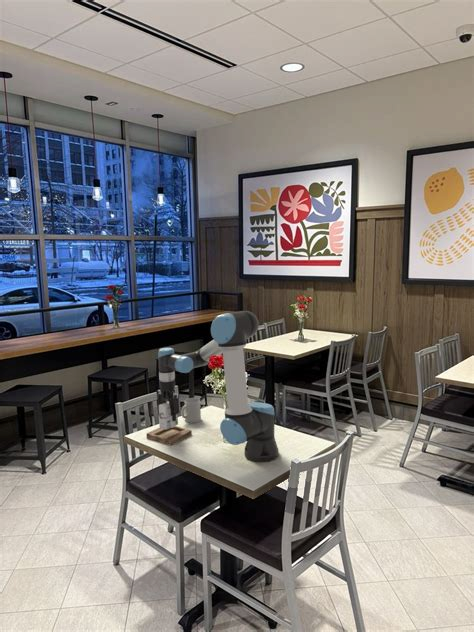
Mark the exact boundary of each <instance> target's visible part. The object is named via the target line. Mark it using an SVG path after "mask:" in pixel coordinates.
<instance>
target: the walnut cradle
mask: <svg viewBox="0 0 474 632" xmlns="http://www.w3.org/2000/svg"><path fill="white" fill-rule="evenodd" d="M192 432H193V431H192V430H191V429H188V428H185V427H181V426H178V425H176V426H175V427H173V428H169V429H167V430H165V429H162V428H160V427H158V428H156V429H153V430H151V431H149V432H147V433H146V439H149V440H153V441H157V442H159V443H162V444H166V445H169V446H172V445H175V444H176V443H177V442H180V441H183V440H184V439H186V438H188V437H190V436H192V434H193V433H192Z"/></svg>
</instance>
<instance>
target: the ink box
mask: <svg viewBox="0 0 474 632" xmlns="http://www.w3.org/2000/svg"><path fill="white" fill-rule="evenodd" d="M170 414H171V410H170V405H169V402H168V401H167V402H166V403H163V404H160V405H159V410H158V419H159V421H158V422H159V423H158V424H159V425H158V426H159V428H162V429H165V430H167V429H169V428H171V426H170ZM178 415H179V413H178V414H176V421H175V425H176V426H178V425H179V421H178V419H179V417H178Z"/></svg>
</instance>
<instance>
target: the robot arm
mask: <svg viewBox="0 0 474 632" xmlns="http://www.w3.org/2000/svg"><path fill="white" fill-rule="evenodd" d="M259 322H260V321H259V320H258V317H257V315H256V314H254V313H253V312H251V311H249V310H240V311H234V312H226V313H222V314H220V315H219V314H218V315H217V316H215V318H214V320H212V323H211V326H210V334H211V337H212V340H211V341H209V342H208V343H206V344H205V345H203V346H202V347H201V348H200V349H198V350H196V351H193V352H189V353H184V354H177V353H175V349H174V348H172V347H162V348H159V350H158V356H157V359H158V377H159V378H158V379H159V389H158V390H156V391H155V393H156V398H157V399H156V400H157V401H156V402H157V403H156V404H157V405H156V407H157V410H158V411H159V405H160V404H163V403H166V402H169V405H170V410H171V414H170V426H171V428H173V427H175V426H177V425H175V421H176V414H178V415H179V414H180V394H179V393H177V392H176V390H175V388H176V380H175V379H176V373H175V372H179V373H182V374H183V373H184V374H187V373H190V372H191V371H192V370H193V369H195V368H200V367H205V366H207V365H209V364H208V363H209V357H211V356H213V355H216V356H217V357H219V356H220V355H221V354H222V359H223V371H224V382H225V392H226V403H227V408H226V409H225V410H224V418H223V419H222V421H221V422H220V423H219V424H220V425H219V429H220V433H221V435H222V437H223V438H224V439H225V440H226V442H227V443H229V444H230V445H233V446H238V445H241V444H245V443H246V444H245V447H244V450H243V451H244V457H245V458H246V459H248V460H249V461H253V462H257V463H265V462H266V463H267V462H271V461H274V460H276V459H277V458H279V454H280V453H279V447H278V444H277V441H276V438H275V408H274V406H273V405H272V404H270V403H265V402H261V401H260V402H259V401H258V402H257V401H256V402H250V403H249V397H248V389H247V388H248V387H247V377H246V376H247V375H246V366H245V356H244V355H245V354H244V348H245V347H246V345H247V340H248V339H250V338H252V337H253V336H255V335H256V334H257V332H258V330H259V328H260V327H259V326H260V323H259Z"/></svg>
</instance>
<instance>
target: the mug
mask: <svg viewBox="0 0 474 632" xmlns="http://www.w3.org/2000/svg"><path fill="white" fill-rule="evenodd" d="M201 413H202V412H201V399H200V398H198V397H191V398H190V397H188V398H186V399H185V400H184V405H183V406H182V407H181V413H180V415H181V417H182V419H184V421H185V422H186V423H190V424H192V423H198V422H201V420H202V416H201V415H202V414H201Z"/></svg>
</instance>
